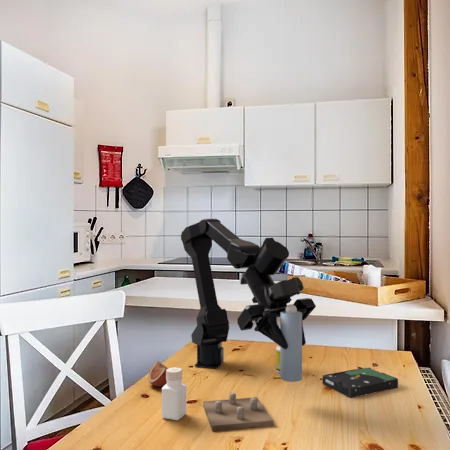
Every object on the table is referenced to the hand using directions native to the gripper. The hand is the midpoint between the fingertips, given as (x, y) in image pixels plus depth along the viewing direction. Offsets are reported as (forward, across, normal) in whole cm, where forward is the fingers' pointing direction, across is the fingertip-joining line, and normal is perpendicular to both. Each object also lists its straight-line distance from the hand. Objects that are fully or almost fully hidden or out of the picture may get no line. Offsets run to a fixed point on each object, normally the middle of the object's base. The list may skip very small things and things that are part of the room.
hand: (295, 346), depth 97 cm
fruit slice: (-10, -18, +30) cm, 36 cm away
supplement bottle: (-4, +14, +23) cm, 27 cm away
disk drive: (+9, +22, +11) cm, 26 cm away
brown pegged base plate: (+7, -12, +12) cm, 19 cm away
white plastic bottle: (+2, -23, +17) cm, 29 cm away
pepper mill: (+4, 0, +6) cm, 7 cm away
